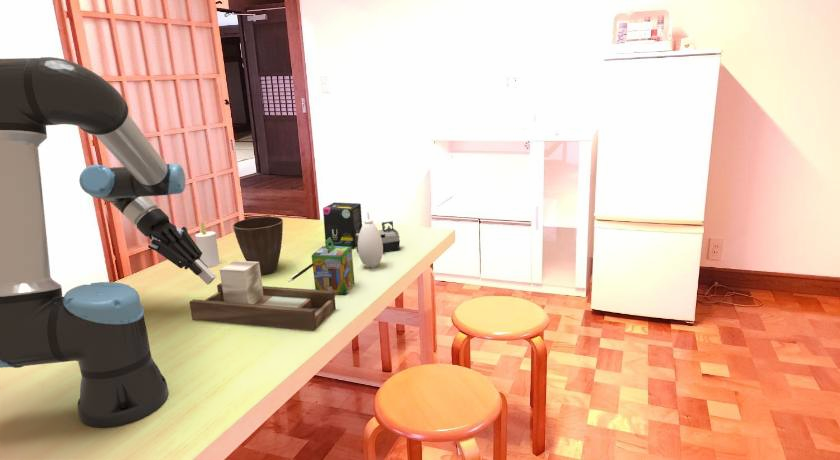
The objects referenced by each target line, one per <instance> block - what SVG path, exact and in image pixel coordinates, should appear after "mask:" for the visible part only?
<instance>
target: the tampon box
mask: <svg viewBox="0 0 840 460" xmlns="http://www.w3.org/2000/svg"><path fill="white" fill-rule="evenodd" d="M322 211H323V212H322V213H323V214H322V215H323V225H324V226H323V227H324V229H323V230H324V242H325V241H326V240H327V239H328V238H329V237H331V239H332V242H333V244H334V246H342V247H352V250H354V249H355V248H356V242H355V241H356V240H355V236H356V234H357V233H360V230H361V228H362V226H363V220H362V219H363V218H362V205H361V203H356V202H355V203H353V202H333V203H331V204H328V205H326V206H324V207H322ZM328 246H331V243H330V242H329V243H328Z"/></svg>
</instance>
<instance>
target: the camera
mask: <svg viewBox="0 0 840 460" xmlns="http://www.w3.org/2000/svg"><path fill="white" fill-rule="evenodd" d="M386 224H388V226H387V227H386ZM389 224H390V225H389ZM381 228H382V229H381V230H379V229H378V231H379V233H380V236H381V239H382V243H383V254H385V253H387V254H388V253H392V252H393V253H394V252H399V251H400V244H401V243H400V241H401V240H400V234H399V230H397V229H395V228H394V221H393V220H391V221H390V220H389V221H383V222H381ZM358 237H359V233H357V234H356V236H355V240H356V241H355V242H356V247H355V248H356V253H358Z"/></svg>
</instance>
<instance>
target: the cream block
mask: <svg viewBox="0 0 840 460" xmlns="http://www.w3.org/2000/svg"><path fill="white" fill-rule="evenodd" d="M219 274H220V275H219V276H220V282H221V283H222V290H223V297H224V302H232V303H245V304H256V303H257V302H259V301H260V300H261V299H263V298H264V296H263V288H262V286H263V280H262V275H261V272H260V264H259V262H252V261H246V260H234V261H232V262H231V263H229V264H227V265H225V266H223V267H222V268H220V269H219Z"/></svg>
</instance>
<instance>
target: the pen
mask: <svg viewBox="0 0 840 460" xmlns="http://www.w3.org/2000/svg"><path fill="white" fill-rule="evenodd" d="M311 268H313V264H312V263H311V264H309V265H308V266H307V267H305V268H304V269H302V270H300V271H299V272H297V273H295V274H294V275H292V276H291V277H290V278H289V280H288V282H291V281H294V280H295V279H296V278H298V277H299V276H302V274H303V273H305V272H307V271H308V270H309V269H311Z"/></svg>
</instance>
